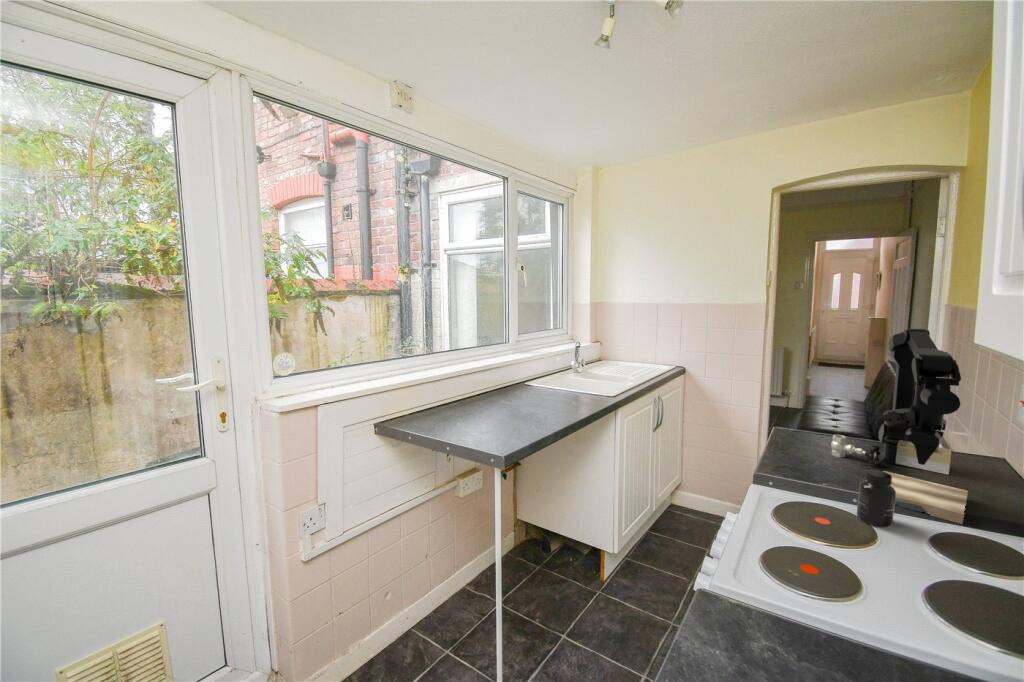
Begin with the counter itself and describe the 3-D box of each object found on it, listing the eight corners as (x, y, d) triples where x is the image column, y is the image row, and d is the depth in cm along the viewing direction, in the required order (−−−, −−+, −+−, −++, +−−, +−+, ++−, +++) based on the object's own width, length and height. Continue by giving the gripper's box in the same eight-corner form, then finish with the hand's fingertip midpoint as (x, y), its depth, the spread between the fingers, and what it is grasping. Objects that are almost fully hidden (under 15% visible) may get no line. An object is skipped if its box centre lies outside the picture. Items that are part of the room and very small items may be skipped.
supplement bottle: (895, 531, 102) (900, 482, 101) (858, 523, 106) (862, 476, 104) (889, 517, 108) (894, 471, 106) (854, 510, 112) (858, 465, 110)
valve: (826, 455, 144) (871, 468, 134) (827, 436, 143) (872, 448, 133) (835, 451, 148) (879, 463, 138) (836, 432, 147) (881, 443, 137)
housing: (949, 467, 113) (951, 449, 112) (948, 474, 109) (950, 455, 109) (897, 457, 120) (899, 439, 119) (895, 463, 116) (897, 445, 116)
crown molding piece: (882, 479, 127) (883, 470, 127) (966, 499, 115) (968, 490, 114) (871, 498, 117) (872, 490, 117) (962, 524, 104) (963, 514, 104)
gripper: (894, 390, 124) (888, 442, 126) (881, 404, 112) (875, 462, 114) (949, 397, 116) (942, 453, 118) (942, 414, 104) (934, 476, 106)
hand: (922, 460), depth 114 cm, fingers closed on housing, 5 cm apart
